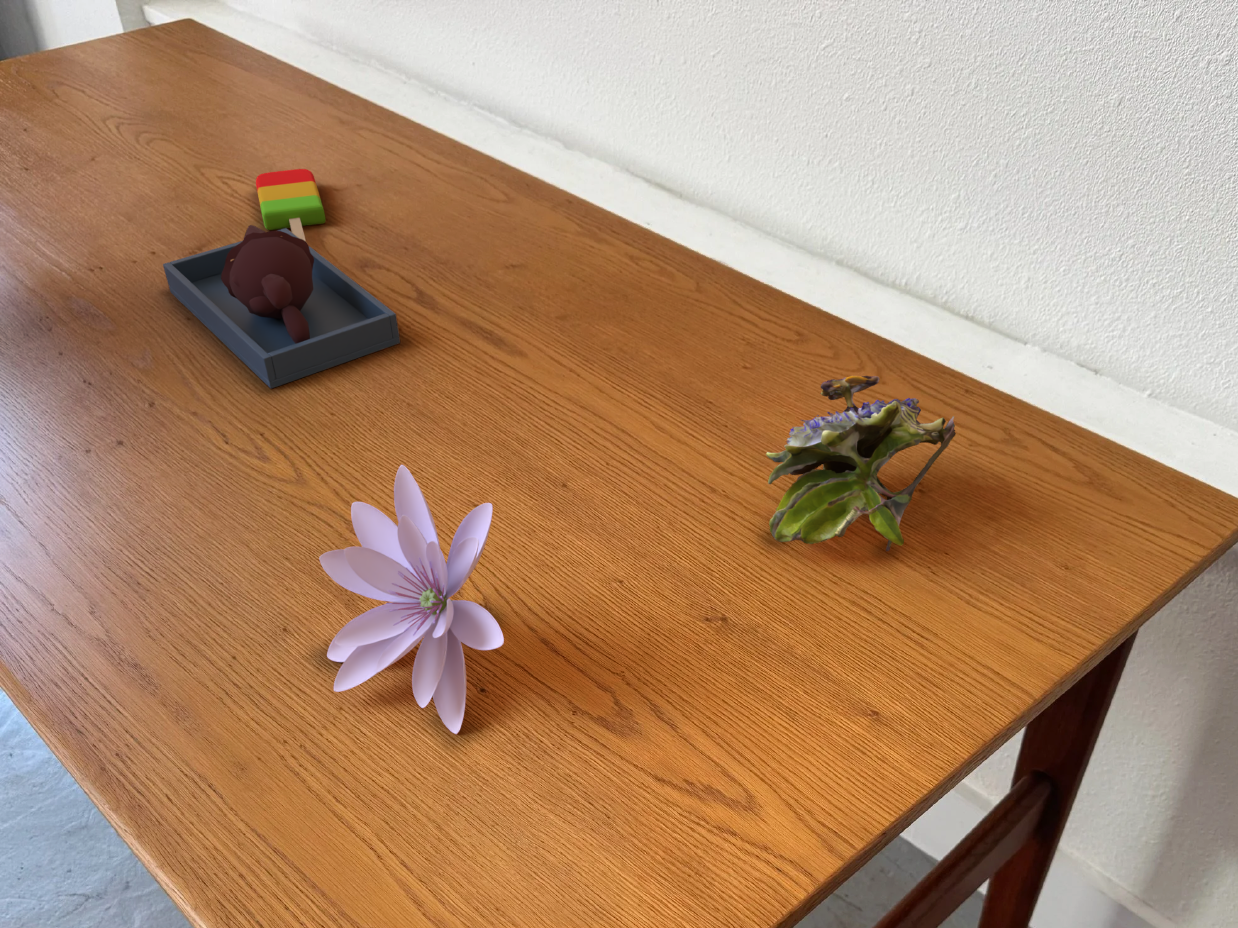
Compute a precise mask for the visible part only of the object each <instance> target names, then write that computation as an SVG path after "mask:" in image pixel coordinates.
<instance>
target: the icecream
mask: <svg viewBox="0 0 1238 928" xmlns="http://www.w3.org/2000/svg"><path fill="white" fill-rule="evenodd" d="M241 241H242V242H241V243H239V244H238V245H237V246H235V247H234V248H232V249H231V250H230V251H229V253H228V254H227V257H226V260H225V266H224V269H223V271H222V274H221V280H222V282H223V283H224V285H225V286H226V287H227V289H228V291H229V294H230V295H231V296H233V297H235V298H237V299H238V300H239V301H240V302H241V303H242V304H243V305H245V306H246V307H247V309H248V311H249V313H251V314H255V315H257V316H260V317H267V318H274V319H283V320H284V323H285V326H286V329H287V332H288V333H289V335H290V337H291V338H292V340H293V341H294V342H295V343H296V344H297V343H300V342H303V341H306V340H309V339H310V333H309V325H308V322H307V320H306V319H305V317H304V316H303V314H302V313H301V312H300V311H301V309H302V308H303V306H304V304H305V303H306V301H307V300H308V298H309V296H310V295H311V293H312V291H313V280H312V269H313V264H314V257H313V255H312V254H311V253H310V249H309V246H310V245H309V244H308V242H307V240H306V241H304V240H302V239H300V238H296V237H293V236H291V235H289V234H287V233H284V232H282V231H278V230H268V231H265V230H264V229H261V228H259V227H258V226H255V225H253V224H250V225H248V227H247V228H246V231H245V233H244V237H243V238H242V240H241Z"/></svg>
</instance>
